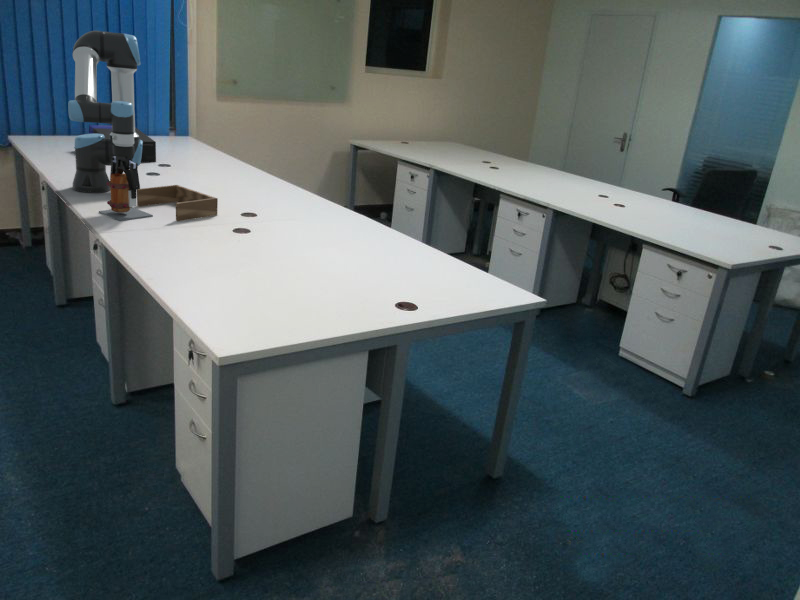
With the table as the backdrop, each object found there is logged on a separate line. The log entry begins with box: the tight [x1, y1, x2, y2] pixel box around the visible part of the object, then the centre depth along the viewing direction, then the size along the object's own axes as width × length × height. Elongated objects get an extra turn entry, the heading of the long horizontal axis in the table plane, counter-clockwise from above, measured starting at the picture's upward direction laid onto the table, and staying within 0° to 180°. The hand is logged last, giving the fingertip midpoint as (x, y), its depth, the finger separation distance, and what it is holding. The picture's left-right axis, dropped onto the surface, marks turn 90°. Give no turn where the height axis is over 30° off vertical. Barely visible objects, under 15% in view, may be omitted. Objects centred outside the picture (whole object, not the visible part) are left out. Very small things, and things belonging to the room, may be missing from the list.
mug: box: [106, 173, 130, 213], centre depth 248 cm, size 15×8×15 cm, turn 167°
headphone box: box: [88, 124, 157, 163], centre depth 351 cm, size 25×35×14 cm
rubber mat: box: [98, 207, 153, 222], centre depth 251 cm, size 14×14×1 cm
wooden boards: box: [136, 184, 219, 222], centre depth 263 cm, size 26×19×7 cm
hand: (125, 203), depth 249 cm, fingers closed on mug, 8 cm apart
